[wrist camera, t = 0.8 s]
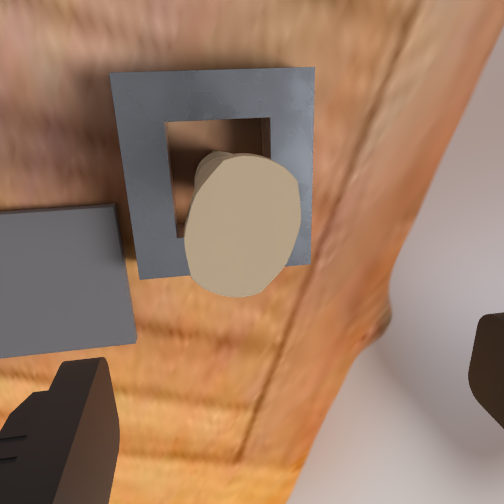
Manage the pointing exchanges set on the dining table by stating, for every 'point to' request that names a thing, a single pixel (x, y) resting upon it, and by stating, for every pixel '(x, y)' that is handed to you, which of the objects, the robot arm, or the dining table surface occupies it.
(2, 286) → the mat
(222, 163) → the handle
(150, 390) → the dining table surface
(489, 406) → the robot arm
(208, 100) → the holder
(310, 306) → the dining table surface
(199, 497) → the dining table surface
